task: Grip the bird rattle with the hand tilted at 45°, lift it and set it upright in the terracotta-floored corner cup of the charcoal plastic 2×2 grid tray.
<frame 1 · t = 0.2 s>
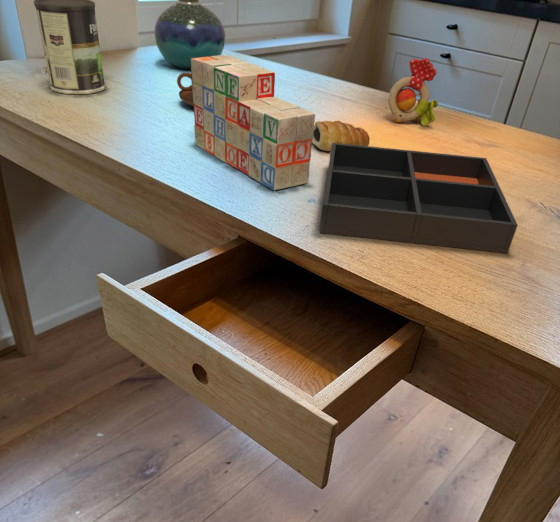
bird rattle: (409, 124, 104), on the table
pastry: (336, 147, 92), on the table
vase: (191, 67, 128), on the table
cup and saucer: (212, 106, 105), on the table
stack of blocks: (248, 164, 84), on the table
grid: (407, 205, 75), on the table
coffee can: (78, 88, 109), on the table
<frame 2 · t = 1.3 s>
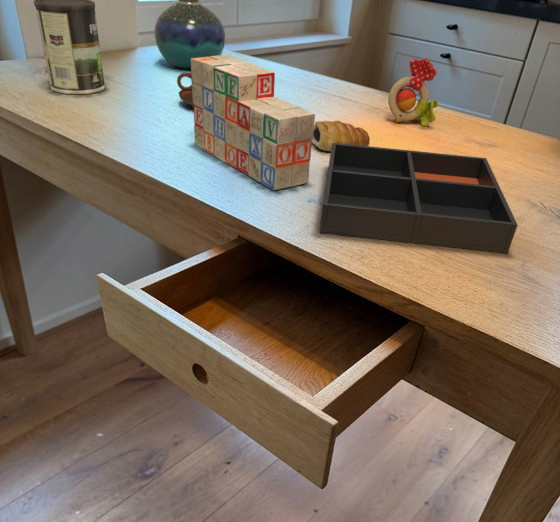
nothing on the table moved.
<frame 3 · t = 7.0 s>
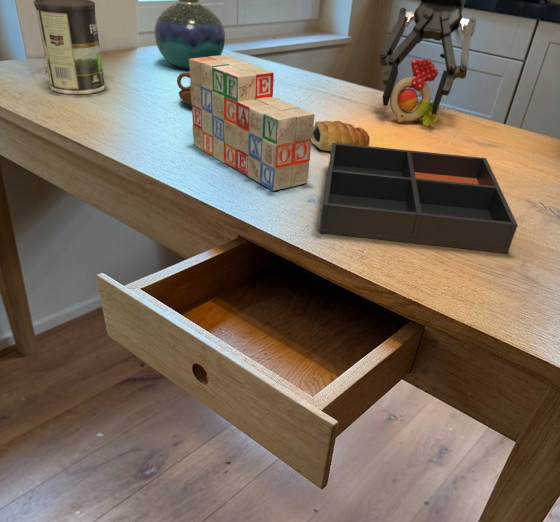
hand: (409, 105, 99), 4 cm above the table, tool tilted 45°, fingers closed on bird rattle, 8 cm apart
bird rattle: (411, 124, 104), on the table, touching gripper
everything else where it was.
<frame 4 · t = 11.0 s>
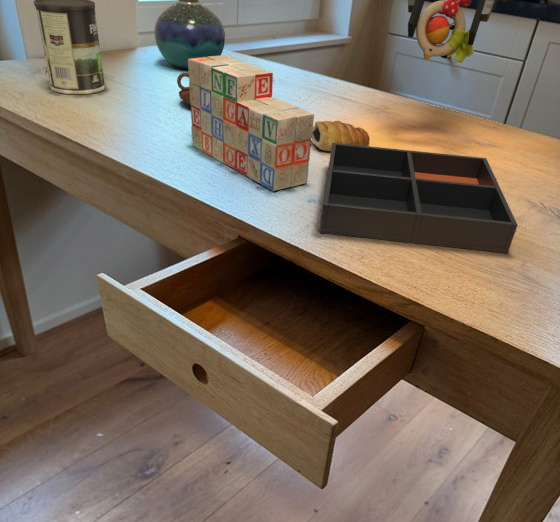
hand: (440, 34, 82), 17 cm above the table, tool tilted 45°, fingers closed on bird rattle, 8 cm apart
bird rattle: (441, 61, 87), point 13 cm above the table, touching gripper
everything else where it was.
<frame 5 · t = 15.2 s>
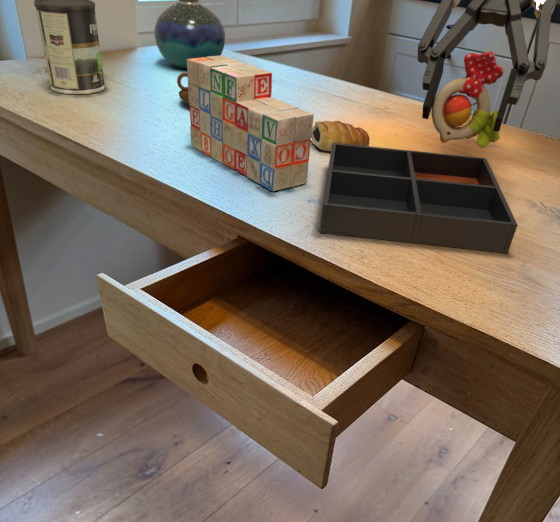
hand: (461, 118, 70), 11 cm above the table, tool tilted 45°, fingers closed on bird rattle, 8 cm apart
bird rattle: (460, 144, 74), point 7 cm above the table, touching gripper
everything else where it was.
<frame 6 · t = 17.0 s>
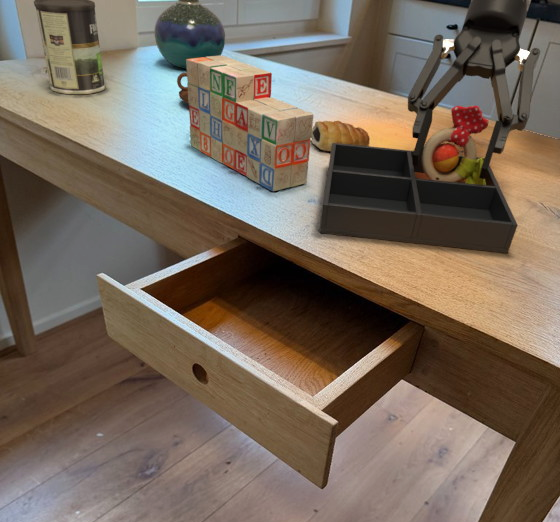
hand: (448, 166, 73), 5 cm above the table, tool tilted 45°, fingers closed on bird rattle, 8 cm apart
bird rattle: (449, 188, 78), point 1 cm above the table, touching gripper
everything else where it was.
when the fingers open (6 cm above the table, at t = 23.5 s): bird rattle drops 1 cm, resting on grid.
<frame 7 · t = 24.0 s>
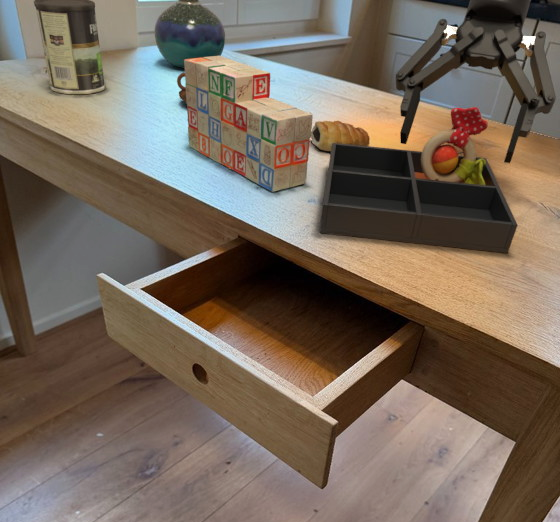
hand: (454, 148, 73), 7 cm above the table, tool tilted 45°, fingers open, 13 cm apart
bird rattle: (448, 190, 78), point 1 cm above the table, touching grid
everything else where it was.
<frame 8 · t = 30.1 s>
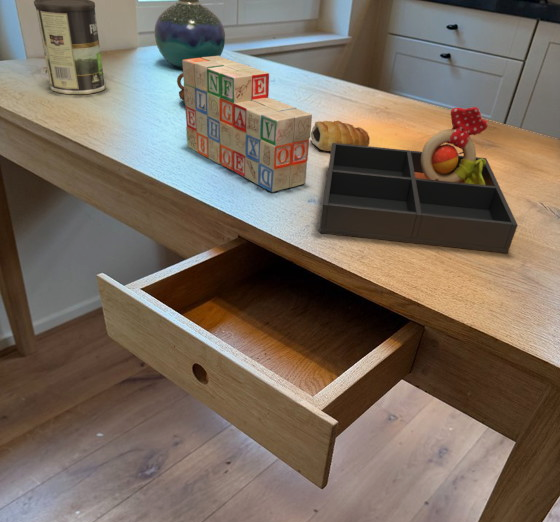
at the end: bird rattle inside the target area in the grid (0.4 cm from its centre), point 0.6 cm above the grid's base; bird rattle tilted 2°; the gripper is holding nothing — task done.
